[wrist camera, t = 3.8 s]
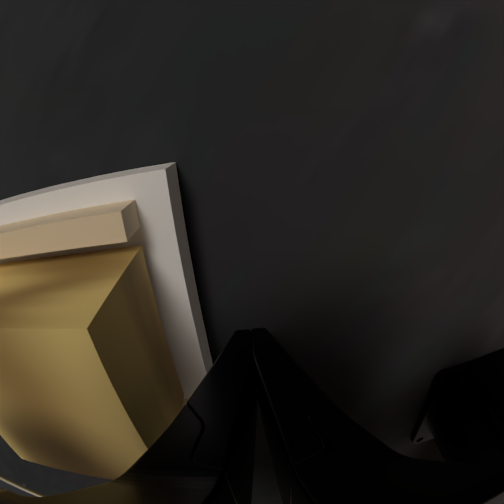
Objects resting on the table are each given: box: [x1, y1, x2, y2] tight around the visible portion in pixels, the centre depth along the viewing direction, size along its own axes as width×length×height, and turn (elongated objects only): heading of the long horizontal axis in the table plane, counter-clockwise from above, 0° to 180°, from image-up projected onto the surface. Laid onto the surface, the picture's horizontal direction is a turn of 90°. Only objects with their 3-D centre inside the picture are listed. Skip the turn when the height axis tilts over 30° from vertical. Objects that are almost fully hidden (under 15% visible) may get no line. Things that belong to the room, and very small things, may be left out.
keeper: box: [0, 246, 184, 480], centre depth 8 cm, size 6×6×4 cm
